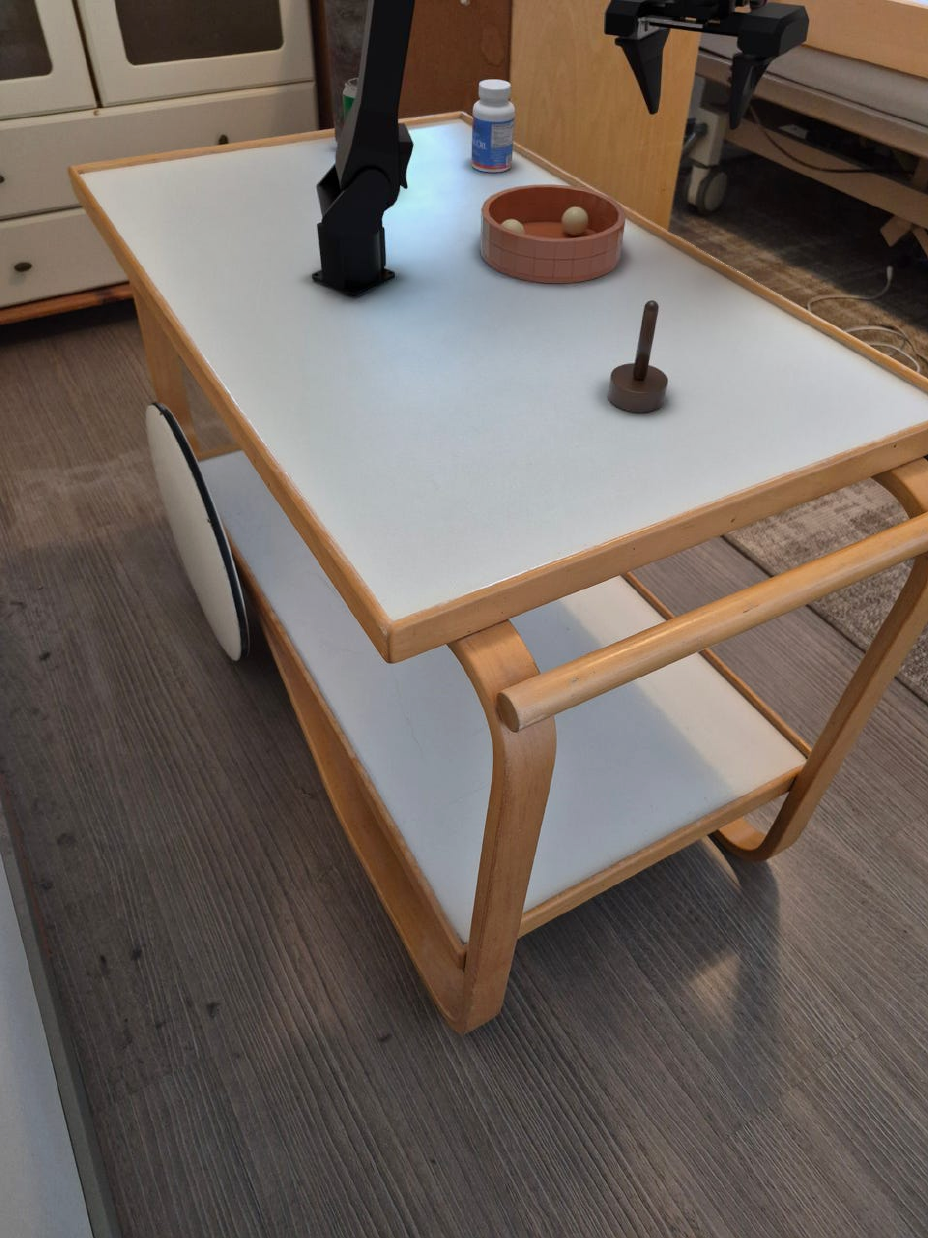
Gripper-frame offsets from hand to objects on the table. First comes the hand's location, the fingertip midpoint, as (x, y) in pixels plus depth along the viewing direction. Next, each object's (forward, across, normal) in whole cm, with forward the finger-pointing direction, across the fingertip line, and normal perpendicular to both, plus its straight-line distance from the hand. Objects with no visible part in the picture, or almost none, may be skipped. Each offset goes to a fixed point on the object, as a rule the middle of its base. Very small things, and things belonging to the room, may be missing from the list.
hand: (692, 120), depth 91 cm
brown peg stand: (+13, -13, +28) cm, 33 cm away
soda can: (+11, +39, +10) cm, 42 cm away
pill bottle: (+13, +33, -7) cm, 36 cm away
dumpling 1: (+10, +14, +12) cm, 21 cm away
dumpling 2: (+11, +11, +4) cm, 16 cm away
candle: (+11, +51, 0) cm, 52 cm away
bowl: (+13, +11, +9) cm, 19 cm away
